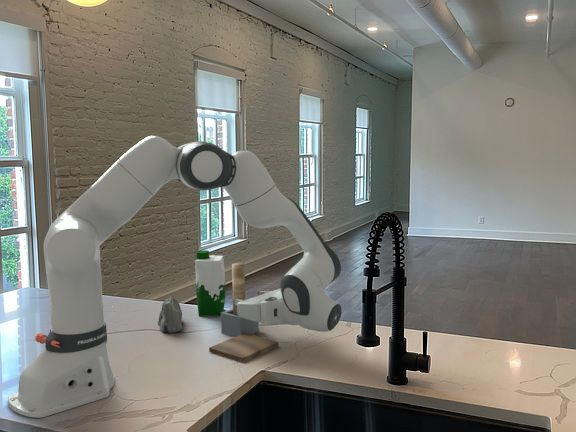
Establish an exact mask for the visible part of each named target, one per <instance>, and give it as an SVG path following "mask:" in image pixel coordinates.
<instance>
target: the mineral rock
mask: <svg viewBox="0 0 576 432" xmlns="http://www.w3.org/2000/svg"><path fill="white" fill-rule="evenodd" d="M182 319H183V312H182V309H181V305H180V303H179V302H178V301H177V300H176V299H175V298H174V296H173V295H172V294H170V295H169V297H167V298H166V299H165V301H164V302H163V303H162V306H161V310H160V312H159V315H158V321H157V325H158V327H160V331H161V332H162V333H163V334H164V333H170V334H175V333H176V332H180V331H182V329H183V324H182V322H183V321H182Z"/></svg>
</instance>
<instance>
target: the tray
mask: <svg viewBox="0 0 576 432" xmlns="http://www.w3.org/2000/svg"><path fill="white" fill-rule="evenodd" d="M277 347H279V341H277V340H273V339H270V338H266V337H262V336H259V335H255V334H248V333H244V334H241V335H239V336H236V337H234V336H233V337H231V338H229V339H227V340H224V341H222V342H219V343H217V344H214V345H212V346H209V347H208V348H209V349H208V352H209V353H212V354H215V355H218V356H221V357H224V358H228V359H231V360H234V361H236V362H241V363H245V362H248V361H249V360H252V359H253V358H256V357H258V356H260V355H263V354H264V353H267V352H269V351H271V350H273V349H275V348H277Z"/></svg>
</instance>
